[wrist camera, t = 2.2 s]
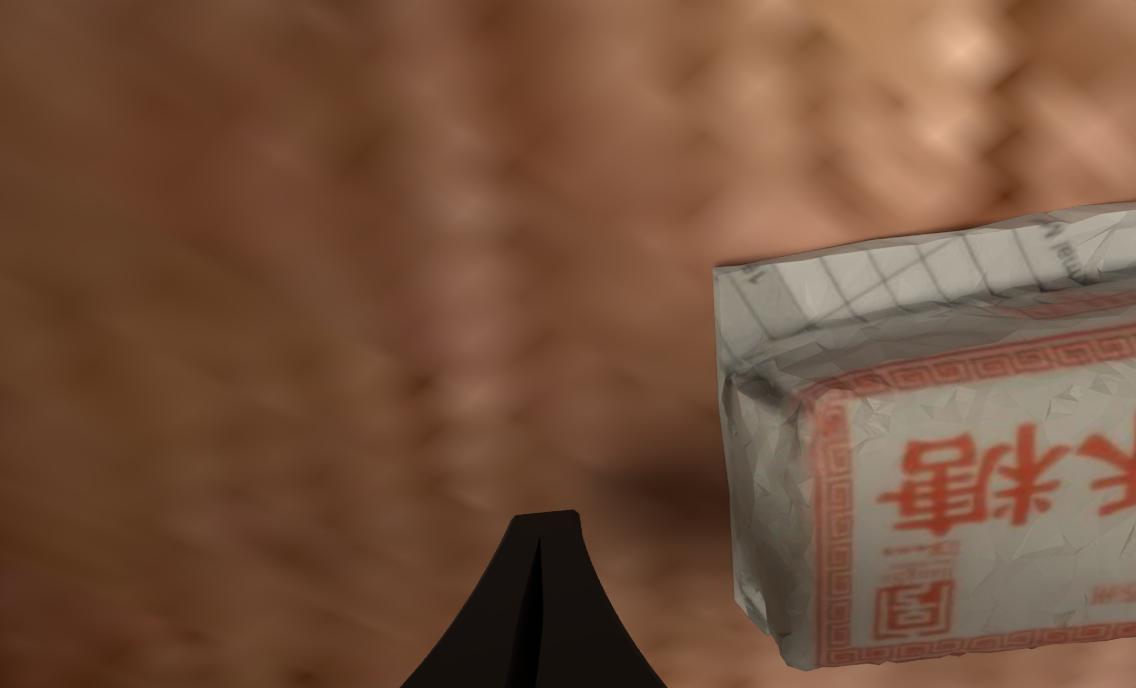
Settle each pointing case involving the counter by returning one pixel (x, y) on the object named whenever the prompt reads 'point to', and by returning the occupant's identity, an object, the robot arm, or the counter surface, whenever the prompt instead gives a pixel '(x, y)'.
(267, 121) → the counter surface
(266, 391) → the counter surface
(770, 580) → the packaged product
